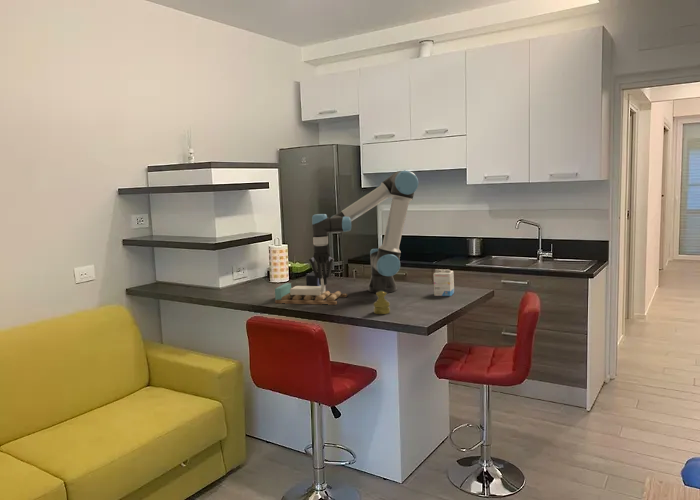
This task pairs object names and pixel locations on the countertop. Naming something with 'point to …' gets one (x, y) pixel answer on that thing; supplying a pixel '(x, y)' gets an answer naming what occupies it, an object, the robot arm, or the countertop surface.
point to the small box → (312, 280)
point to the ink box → (443, 282)
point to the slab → (306, 290)
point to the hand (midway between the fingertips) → (323, 291)
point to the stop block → (282, 291)
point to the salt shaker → (381, 304)
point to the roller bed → (309, 298)
